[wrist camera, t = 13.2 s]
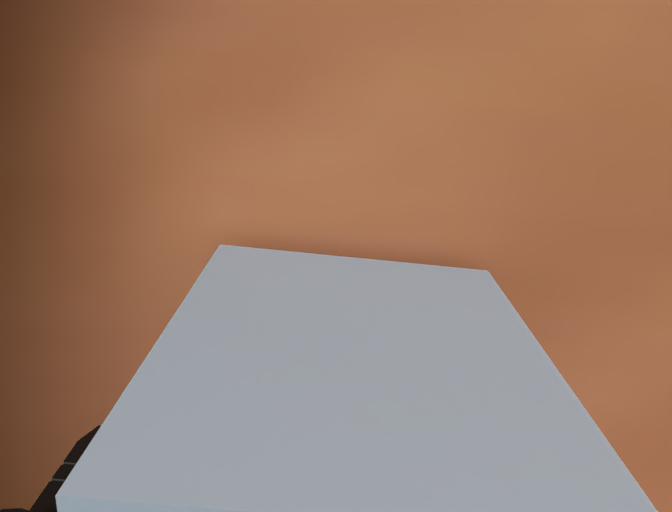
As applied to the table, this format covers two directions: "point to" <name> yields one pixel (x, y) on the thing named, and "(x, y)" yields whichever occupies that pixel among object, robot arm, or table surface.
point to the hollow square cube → (347, 401)
